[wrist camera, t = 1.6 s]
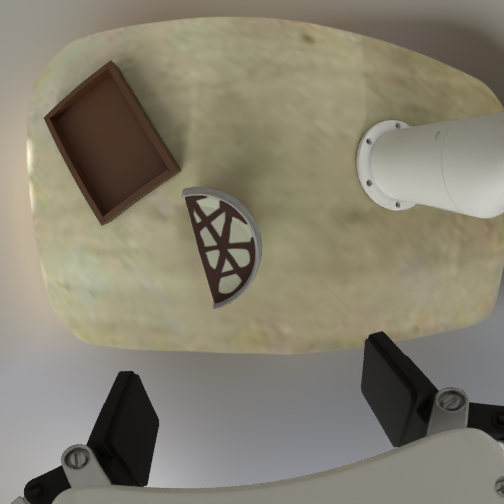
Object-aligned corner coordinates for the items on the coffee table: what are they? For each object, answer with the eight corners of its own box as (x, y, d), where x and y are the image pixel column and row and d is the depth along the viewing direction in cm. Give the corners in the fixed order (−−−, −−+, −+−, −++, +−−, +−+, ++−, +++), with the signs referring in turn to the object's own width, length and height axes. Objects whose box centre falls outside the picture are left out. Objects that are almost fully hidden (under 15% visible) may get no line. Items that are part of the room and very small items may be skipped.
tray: (118, 67, 29) (110, 60, 27) (181, 170, 34) (177, 170, 31) (54, 120, 30) (43, 117, 27) (109, 222, 35) (101, 225, 32)
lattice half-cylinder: (264, 268, 38) (276, 300, 28) (217, 279, 38) (215, 314, 28) (242, 173, 35) (247, 172, 25) (193, 185, 34) (179, 189, 25)
